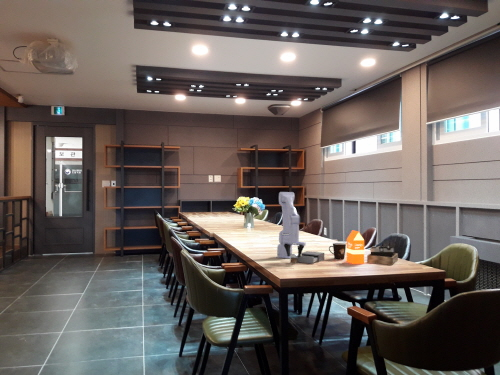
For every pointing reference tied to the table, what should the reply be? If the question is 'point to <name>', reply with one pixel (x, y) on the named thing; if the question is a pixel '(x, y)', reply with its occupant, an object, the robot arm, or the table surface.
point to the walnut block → (293, 260)
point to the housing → (314, 255)
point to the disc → (293, 255)
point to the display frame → (382, 259)
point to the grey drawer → (307, 259)
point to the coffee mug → (338, 250)
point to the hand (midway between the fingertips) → (293, 256)
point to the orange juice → (355, 248)
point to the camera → (382, 251)
